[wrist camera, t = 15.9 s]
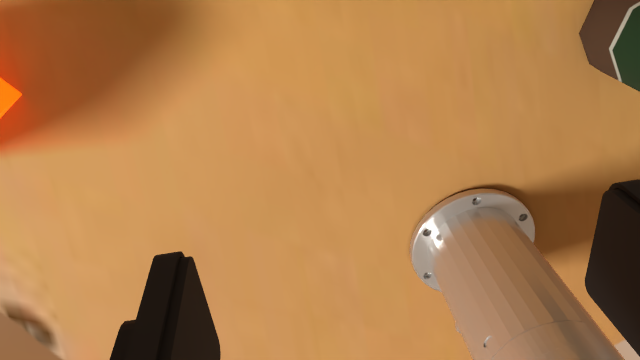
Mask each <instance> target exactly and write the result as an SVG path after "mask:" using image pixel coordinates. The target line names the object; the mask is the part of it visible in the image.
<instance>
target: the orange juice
mask: <svg viewBox="0 0 640 360" xmlns="http://www.w3.org/2000/svg"><path fill="white" fill-rule="evenodd" d="M21 95H22V94H21V93H20V92H19V91H17V90H16V89H15V88H13V87H12V86H11V85H9V84H8V83H7V82H5V81H4V80H3V79H2V78H0V118H1V117H2V116H3V115H4V114H5V113H6V112H7V111H8V109H9V108H10V107H11V106H12V105H13V104H14V103H15V102H16V101H17V100H18V99H19V97H20V96H21Z"/></svg>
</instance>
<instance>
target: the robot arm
mask: <svg viewBox="0 0 640 360" xmlns="http://www.w3.org/2000/svg"><path fill="white" fill-rule="evenodd" d="M534 239H535V225H534V221H533V218H532V216H531V214H530V212H529V210H528V209H527V208H526V207H525V206H524V204H523V203H522V202H521V201H520V200H518V199H517V198H516V197H515V196H513V195H511V194H509V193H507V192H504V191H500V190H496V189H474V190H468V191H465V192H461V193H458V194H455V195H453V196H451V197H449V198H447V199H445V200H443V201H442V202H440V203H439V204H437V205H436V206H434V207H433V208H432V209H431V210H430V211H429V212H428V213H427V214H426V215H425V216H424V217H423V218H422V220H421V221H420V222H419V224H418V225H417V227H416V229H415V231H414V233H413V236H412V239H411V242H410V258H411V262H412V265H413V267H414V270H415V272H416V273H417V275H418V277H419V278H420V279H421V280H422V281H423V282H424V283H425V284H426V285H428V286H429V287H431V288H433V289H435V290H438V291H440V292H442V293H443V295H444V298H445V300H446V302H447V304H448V306H449V308H450V311H451V313H452V315H453V317H454V319H455V328H456V330H457V331H458V332H459V333H461V334H462V337H463V339H464V341H465V343H466V345H467V348H468V350H469V352H470V354H471V356H472V358H473V360H625V359H624V358H623V357H622V355H621V354H620V353H619V352H618V350H617V349H616V348H615V347H614V345H613V344H612V343H611V342H610V340H609V339H608V338H607V337H606V335H605V334H604V333H603V332H602V331H601V329H600V328H599V326H598V325H597V324H596V322H595V321H594V320H593V319H592V317H591V316H590V315H589V314H588V312H587V311H586V310H585V308H584V307H583V306H582V305H581V303H580V302H579V301H578V300H577V298H576V297H575V296H574V294H573V293H572V292H571V291H570V289H569V288H568V287H567V286H566V284H565V283H564V282H563V281H562V279H561V278H560V277H559V275H558V274H557V273H556V272H555V270H554V269H553V268H552V267H551V265H550V264H549V263H548V261H547V260H546V259H545V258H544V256H543V255H542V254H541V253H540V251H539V250H538V249H537V248H536V246H535V245H534V244H533V243H534ZM585 286H586V290H587V292H588V294H589V295H590V297H591V298H592V299H593V300H594V302H595V303H596V304H597V305H598V306H599V308H600V309H601V310H602V311H603V313H604V314H605V315H606V316H607V317H608V319H609V320H610V321H611V322H612V323H613V325H614V326H615V327H616V328H617V330H618V331H619V332H620V333H621V334H622V336H623V337H624V338H625V339H626V340H627V342H628V343H629V344H630V345H631V347H632V348H633V349H634V350H635V351H636V353H637V354H638V355H639V356H640V180H632V181H625V182H619V183H614V184H612V185H611V186H610V188H609V190H608V191H606V192H605V193H604V194H603V197H602V201H601V206H600V211H599V216H598V220H597V225H596V230H595V234H594V239H593V244H592V249H591V253H590V258H589V263H588V268H587V272H586V277H585ZM110 360H220V344H219V339H218V336H217V333H216V330H215V326H214V323H213V320H212V317H211V314H210V310H209V307H208V304H207V301H206V298H205V294H204V291H203V288H202V285H201V282H200V278H199V275H198V272H197V269H196V266H195V262H194V260H193V258H192V257H191V256H190V257H184V254H183V253H182V252H174V253H167V254H161V255H156V256H154V258H153V261H152V265H151V268H150V272H149V275H148V279H147V282H146V286H145V290H144V293H143V297H142V300H141V304H140V307H139V311H138V314H137V318H136V320H131V321H125V322H124V323H123V324H122V325H121V327H120V329H119V332H118V335H117V338H116V341H115V345H114V348H113V351H112V354H111V357H110Z"/></svg>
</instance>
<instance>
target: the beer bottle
mask: <svg viewBox="0 0 640 360" xmlns="http://www.w3.org/2000/svg"><path fill="white" fill-rule="evenodd" d="M579 34H580V37H581V40H582V43H583V46H584V49H585V52H586V55H587V58H588V61H589V64H591V65H592V66H594V67H595V68H597V69H598V70H600V71H601V72H603V73H605V74H607V75H609V76H611V77H613V78H615V79H617V80H619V81H620V82H622V83H624V84H626V85H628V86H630V87H632V88H634V89H636V90H638V91H640V0H594V3H593V5H592V7H591V9H590V11H589V13H588V16H587V18H586V20H585V22H584V24H583V26H582V28H581V31H580V33H579Z"/></svg>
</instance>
